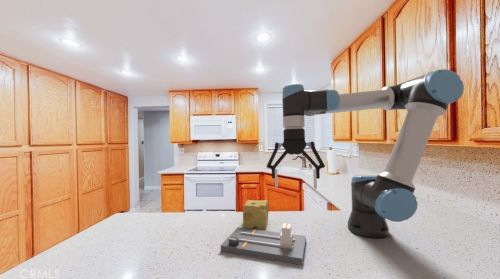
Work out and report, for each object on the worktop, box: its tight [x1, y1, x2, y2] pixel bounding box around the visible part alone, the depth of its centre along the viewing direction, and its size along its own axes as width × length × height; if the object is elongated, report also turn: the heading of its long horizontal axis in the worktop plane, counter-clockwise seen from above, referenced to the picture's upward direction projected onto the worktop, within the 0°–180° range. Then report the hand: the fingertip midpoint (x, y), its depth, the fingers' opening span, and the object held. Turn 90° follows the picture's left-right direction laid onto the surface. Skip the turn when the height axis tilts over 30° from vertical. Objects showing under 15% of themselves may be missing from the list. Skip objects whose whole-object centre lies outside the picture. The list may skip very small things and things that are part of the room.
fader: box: [280, 222, 294, 246], centre depth 75 cm, size 4×4×6 cm
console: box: [220, 226, 307, 266], centre depth 77 cm, size 28×16×4 cm, turn 71°
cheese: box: [242, 199, 269, 230], centre depth 97 cm, size 10×11×10 cm
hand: (295, 187), depth 76 cm, fingers open, 13 cm apart
